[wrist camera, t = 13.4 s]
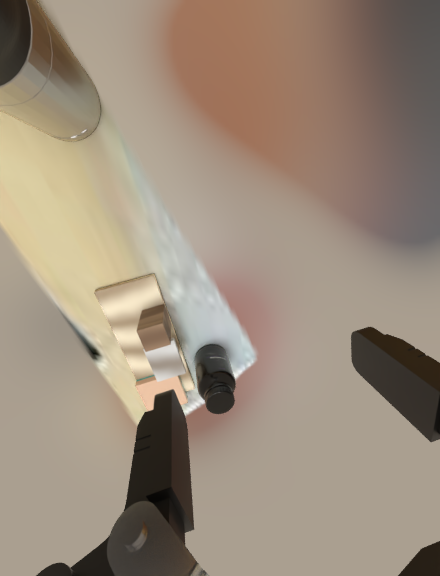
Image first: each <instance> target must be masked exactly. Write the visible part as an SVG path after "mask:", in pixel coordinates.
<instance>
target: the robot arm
mask: <svg viewBox="0 0 440 576" xmlns="http://www.w3.org/2000/svg"><path fill="white" fill-rule="evenodd" d="M100 108H101V106H100V100H99V96H98V93H97V90H96V87H95V86H94V84H93V82H92V80H91V79H90V77H89V76H88V74H87V73H86V71H85V70H84V69H83V67H82V66H81V64H80V63H79V61H78V60H77V58H76V57H75V56H74V54H73V53H72V51H71V50H70V48H69V47H68V45H67V44H66V43H65V41H64V40H63V38H62V37H61V35H60V34H59V33H58V31H57V30H56V28H55V27H54V25H53V24H52V23H51V21H50V20H49V18H48V17H47V15H46V14H45V13H44V11H43V10H42V8H41V7H40V5H39V4H38V3H37V1H36V0H0V111H2V112H4V113H6V114H8V115H10V116H12V117H14V118H16V119H18V120H20V121H22V122H24V123H26V124H28V125H30V126H32V127H34V128H36V129H38V130H40V131H42V132H44V133H46V134H48V135H51V136H53V137H55V138H57V139H60V140H64V141H79V140H81V139H84V138H86V137H87V136H89V135H90V134H91V133H92V132H93V131H94V130H95V129H96V126H97V124H98V122H99V118H100ZM351 349H352V363H353V366H354V367H355V369H356V371H357V372H358V373H359V374H360V375H361V376H362V377H363V378H364V379H365V380H366V381H367V382H368V383H369V384H371V386H373V387H374V388H375V389H376V390H377V391H378V392H379V393H380V394H381V395H382V396H383V397H384V398H385V399H386V400H387V401H388V402H389V403H390V404H392V406H394V407H395V408H396V409H397V410H398V411H399V412H400V413H401V414H402V415H403V416H404V417H405V418H406V419H407V420H408V421H409V422H410V423H411V424H412V425H413V426H415V427H416V428H417V429H418V430H419V431H420V432H421V433H422V434H423V435H424V436H425V437H426V438H427V439H428V440H429V441H430V442H433V441H436V440H438V439H440V363H439V362H437V361H436V360H434V359H433V358H431V357H429V356H426V355H425V353H423V352H421V351H420V350H418V349H415V347H413V346H412V345H410V344H409V343H407V342H405V341H404V340H402V339H399V338H397V337H394V336H391V335H388V334H386V335H384V334H382V333H381V332H379V331H378V330H376V329H375V328H372V327H367V328H364V329H361V330H357V331H355V332H353V333H352V335H351ZM191 530H194V520H193V505H192V489H191V474H190V459H189V445H188V429H187V423H186V418H185V415H184V412H183V410H182V408H181V405H180V403H179V400H178V398H177V395H176V393H175V391H174V389H171V390H168V391H165V392H162V393H159V394H156V395H155V397H154V407H153V410H151V411H148V412H145V413H144V415H143V417H142V418H141V420H140V422H139V424H138V427H137V434H136V442H135V447H134V455H133V461H132V468H131V474H130V481H129V487H128V494H127V500H126V505H125V509H124V512H123V513H122V514H121V516H120V517H119V518H118V520H117V521H116V523H115V525H114V527H113V529H112V531H111V534H110V536H109V537H108V538H107V539H106V540H105V541H104V542H103V543H102V544H100V545H99V546H98V547H97V548H96V549H94V550H93V551H92V552H90V553H89V554H88V555H87V556H85V557H84V558H83V559H82V560H80V561H79V562H77V563H76V564H75V565H74V566H72V567H71V568H70V567H69V566H67V565H66V564H64V563H56V564H52V565H50V566H48V567H47V568H45V569H44V570H42V571H41V572H40V573H39V574H38V575H37V576H209V575H208V574H207V573H206V572H205V571H204V570H203V569H202V568H201V567H200V565H199V564H198V563H197V561H196V560H195V559H194V557H193V556H192V554H191V553H190V552H189V550H188V549H187V548H186V547H185V533H186V532H188V531H191ZM398 576H440V541H439V542H436V543H434V544H432V545H429V546H427V547H424V548H422V549H421V550H420V551H419V552H418V553H417V554H416V556H415V557H414V558H413V559H412V561H410V563H409V564H408V565H407V566H406V567H405V568H404V570H403V571H402V572H401V573H400V574H399V575H398Z"/></svg>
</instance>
